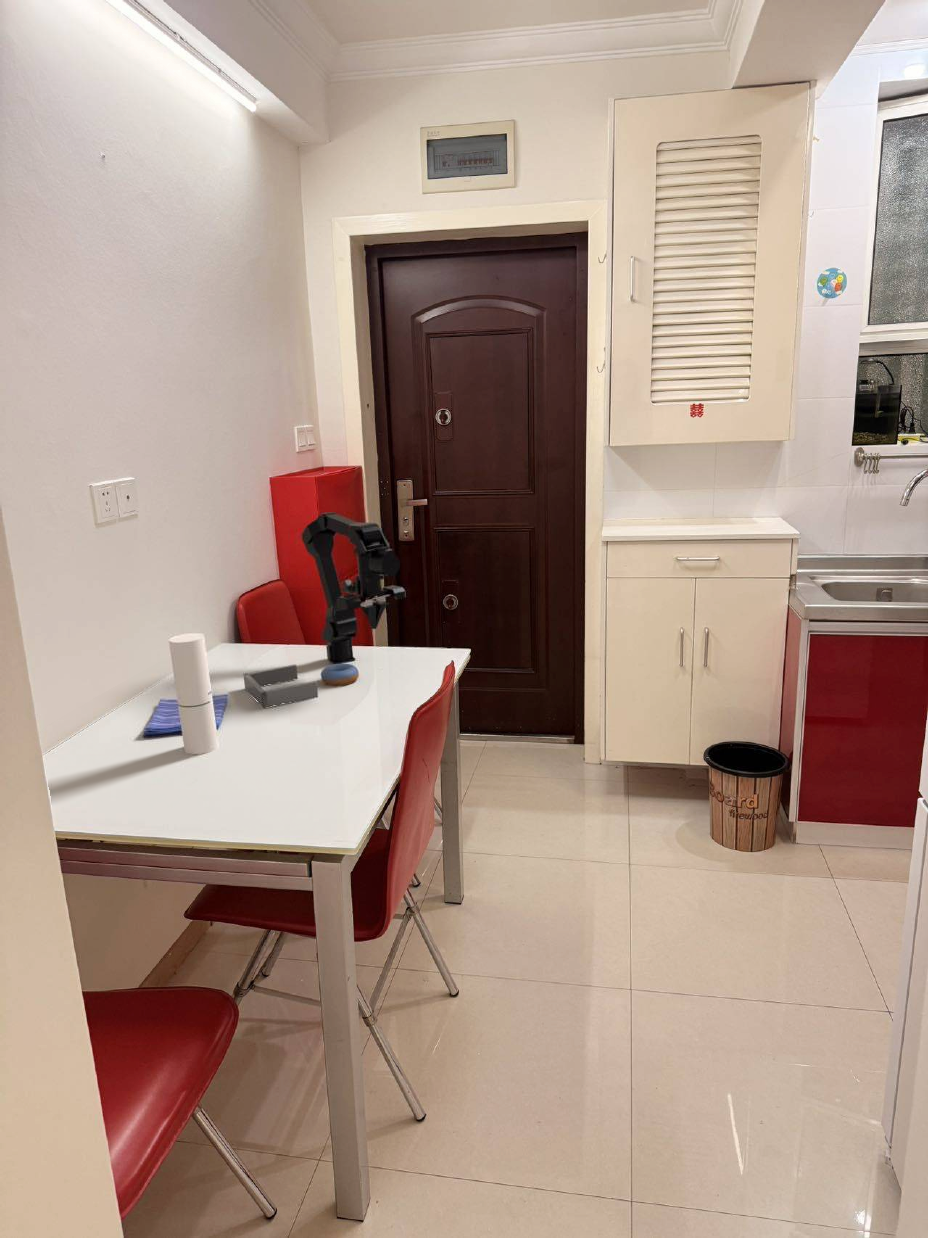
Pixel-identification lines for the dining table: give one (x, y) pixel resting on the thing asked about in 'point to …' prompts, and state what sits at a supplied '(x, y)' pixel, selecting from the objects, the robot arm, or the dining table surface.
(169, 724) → the dish towel
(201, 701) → the cylindrical container
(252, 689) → the box
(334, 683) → the doughnut
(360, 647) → the dining table surface
